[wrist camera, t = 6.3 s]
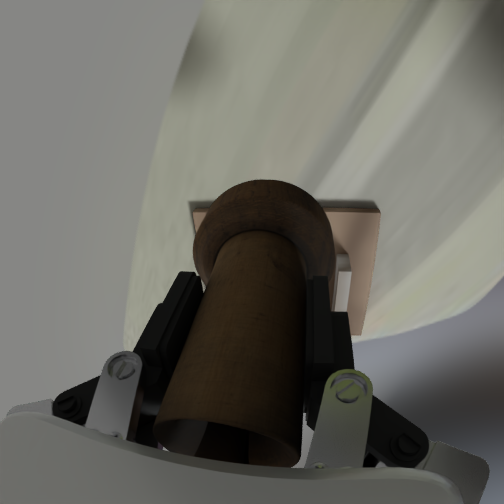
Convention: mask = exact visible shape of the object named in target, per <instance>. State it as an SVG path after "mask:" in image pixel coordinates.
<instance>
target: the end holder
mask: <svg viewBox="0 0 504 504" xmlns="http://www.w3.org/2000/svg"><path fill="white" fill-rule="evenodd" d="M208 210H209V208H196V209H195V210H194V211H193V218H194V224H195V230H196V233H197V230H198V228H199V226H200V224H201V222H202V221H203V219H204V217H205V215H206V213H207V211H208ZM323 210H324V211H325V213H326V215H327V217H328V219H329V222H330V225H331V228H332V233H333V240H334V247H335V268H334V272H333V275H332V278H331V280H330V282H329V284H328V285H329V296H330V308H331V311H344V312H348V317H349V325H350V332H351V335H361V333H362V329H363V324H364V319H365V314H366V309H367V304H368V298H369V293H370V287H371V281H372V275H373V269H374V263H375V256H376V249H377V241H378V234H379V225H380V216H381V213H380V210H379V209H367V208H323Z"/></svg>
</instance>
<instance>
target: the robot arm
mask: <svg viewBox="0 0 504 504" xmlns="http://www.w3.org/2000/svg"><path fill="white" fill-rule="evenodd" d="M203 294H204V293H203V288H202V282H201V278H200V276H196V273H195V272H183V271H181V272H179V274H178V275H177V277H176V279H175V281H174V283H173V285H172V286H171V288H170V290H169V292H168V294H167V296H166V298H165V299H164V301H163V303H160V304H158V305H157V307H156V309H155V310H154V312H153V314H152V316H151V318H150V320H149V322H148V323H147V325H146V327H145V329H144V331H143V333H142V335H141V337H140V339H139V341H138V342H137V344H136V346H135V348H134V350H133V352H130V351H122V352H119V353H116V354H114V355H112V356H111V357H110V358H109V359H108V360H107V361H106V363H105V365H104V367H103V370H102V373H101V375H100V376H98V377H96V378H93V379H91V380H89V381H87V382H84V383H82V384H80V385H78V386H75V387H73V388H71V389H69V390H67V391H64V392H63V393H61V394H59V395H58V396H57V398H56V399H55V401H53V400H52V399H48V400H43V401H38V402H34V403H28V404H23V405H18V406H15V407H13V408H12V409H11V410H9V412H8V414H7V416H6V417H5V418H4V419H3V420H2V421H1V422H0V504H479V502H480V500H481V497H482V495H483V492H484V489H485V487H486V484H487V481H488V478H489V473H490V469H489V465H488V464H487V462H486V460H484V459H483V458H481V457H479V456H476V455H473V454H471V453H468V452H465V451H463V450H460V449H457V448H455V447H452V446H450V445H447V444H445V443H442V442H440V441H437V442H436V443H434V442H432V441H430V440H428V438H427V436H426V434H425V433H424V432H423V431H422V430H421V429H420V428H418V427H417V426H415V425H414V424H413V423H411V422H410V421H408V420H407V419H406V418H404V417H403V416H401V415H400V414H399V413H397V412H396V411H394V410H393V409H392V408H390V407H389V406H387V405H386V404H385V403H383V402H382V401H380V400H379V399H378V398H376V397H375V396H373V395H372V394H373V387H372V383H371V381H370V379H369V378H368V377H367V376H366V375H365V374H363V373H361V372H360V371H356V370H355V369H354V359H353V350H352V341H351V332H350V325H349V317H348V312H344V311H331V308H330V296H329V285H328V276H317V275H313V277H312V279H307V285H306V311H305V355H304V383H303V387H304V398H303V413H306V421H307V425H308V426H309V427H310V428H311V429H312V430H313V431H314V434H313V439H312V442H311V446H310V450H309V453H308V457H307V460H306V464H305V467H304V468H284V467H269V466H257V465H248V464H239V463H231V462H224V461H217V460H210V459H204V458H199V457H193V456H188V455H183V454H178V453H174V452H169V451H165V450H163V446H162V445H161V444H160V443H159V442H158V441H157V440H156V438H155V436H154V434H153V426H154V423H155V420H156V417H157V414H158V412H159V409H160V406H161V404H162V401H163V398H164V396H165V393H166V391H167V388H168V386H169V383H170V380H171V378H172V375H173V373H174V370H175V367H176V365H177V362H178V360H179V357H180V354H181V352H182V349H183V347H184V344H185V341H186V339H187V336H188V334H189V331H190V328H191V326H192V323H193V321H194V318H195V315H196V313H197V310H198V308H199V305H200V302H201V300H202V297H203Z"/></svg>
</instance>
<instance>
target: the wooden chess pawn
mask: <svg viewBox="0 0 504 504" xmlns="http://www.w3.org/2000/svg"><path fill="white" fill-rule="evenodd" d="M193 258H194V264H195V267H196V270H197V272H198V274H199V276H200V278H201V280H202V281H203V282H204V284H205V285H206V289H205V291H204V294H203V297H202V300H201V302H200V305H199V308H198V310H197V313H196V315H195V318H194V321H193V323H192V326H191V328H190V331H189V334H188V336H187V339H186V341H185V344H184V347H183V349H182V352H181V354H180V357H179V360H178V362H177V365H176V367H175V370H174V373H173V375H172V378H171V380H170V383H169V386H168V388H167V391H166V393H165V396H164V398H163V401H162V404H161V406H160V409H159V412H158V414H157V417H156V420H155V423H154V426H153V434H154V436H155V438H156V440H157V441H158V442H159V443H160V444H161V445H162V446H163V447H165V448H166V449H167V450H168V451H170V452H174V453H178V454H183V455H188V456H193V457H199V458H204V459H210V460H217V461H224V462H231V463H239V464H248V465H257V466H269V467H284V468H291V467H293V466H294V465H295V464H297V463H298V462H299V460H300V457H301V445H302V425H303V398H304V387H303V383H304V355H305V311H306V285H307V279H312V277H313V275H317V276H328V284H329V282H330V280H331V278H332V275H333V272H334V268H335V247H334V240H333V233H332V228H331V225H330V222H329V219H328V217H327V215H326V213H325V211H324V210H323V208H322V207H321V205H320V204H319V203H318V202H317V201H316V200H315V199H314V198H313V197H312V196H311V195H310V194H308V193H307V192H306V191H304V190H302V189H301V188H299V187H297V186H295V185H293V184H290V183H287V182H283V181H278V180H252V181H248V182H244V183H241V184H238V185H236V186H234V187H232V188H230V189H228V190H227V191H225V192H224V193H223V194H221V195H220V196H219V197H218V198H217V199H216V200H215V201H214V202H213V204H212V205H211V207H210V208H209V210H208V211H207V213H206V215H205V217H204V219H203V221H202V222H201V224H200V226H199V228H198V230H197V233H196V236H195V239H194V244H193Z"/></svg>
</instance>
